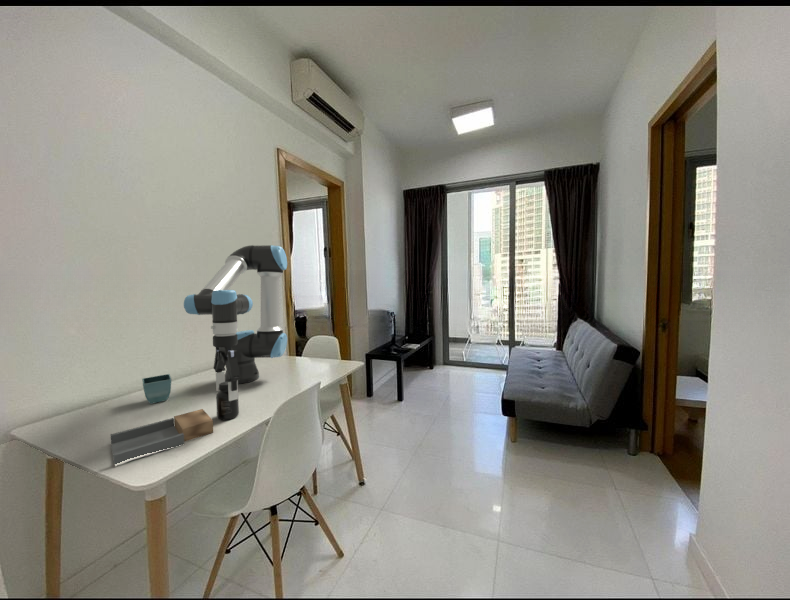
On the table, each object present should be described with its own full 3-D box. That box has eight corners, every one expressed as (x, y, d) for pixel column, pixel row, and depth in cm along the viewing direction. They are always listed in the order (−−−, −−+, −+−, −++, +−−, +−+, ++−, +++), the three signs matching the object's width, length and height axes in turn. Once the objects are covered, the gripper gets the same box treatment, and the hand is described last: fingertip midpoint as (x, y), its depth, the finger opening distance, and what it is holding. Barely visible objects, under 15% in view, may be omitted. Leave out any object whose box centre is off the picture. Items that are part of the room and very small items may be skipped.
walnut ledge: (202, 420, 104) (202, 408, 104) (213, 432, 95) (212, 420, 95) (174, 428, 98) (174, 416, 98) (182, 442, 90) (182, 429, 89)
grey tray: (173, 426, 99) (173, 417, 99) (184, 444, 89) (183, 434, 88) (111, 444, 88) (110, 434, 88) (114, 466, 78) (113, 455, 78)
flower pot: (144, 407, 114) (142, 384, 114) (143, 400, 121) (142, 378, 120) (172, 401, 120) (171, 379, 119) (170, 394, 127) (169, 373, 126)
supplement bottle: (243, 413, 109) (242, 380, 108) (229, 422, 103) (227, 387, 102) (227, 411, 111) (226, 379, 110) (212, 419, 104) (210, 385, 103)
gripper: (202, 331, 111) (204, 388, 112) (225, 340, 93) (226, 407, 94) (225, 329, 116) (226, 383, 117) (250, 337, 99) (251, 401, 100)
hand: (226, 394), depth 106 cm, fingers open, 13 cm apart
